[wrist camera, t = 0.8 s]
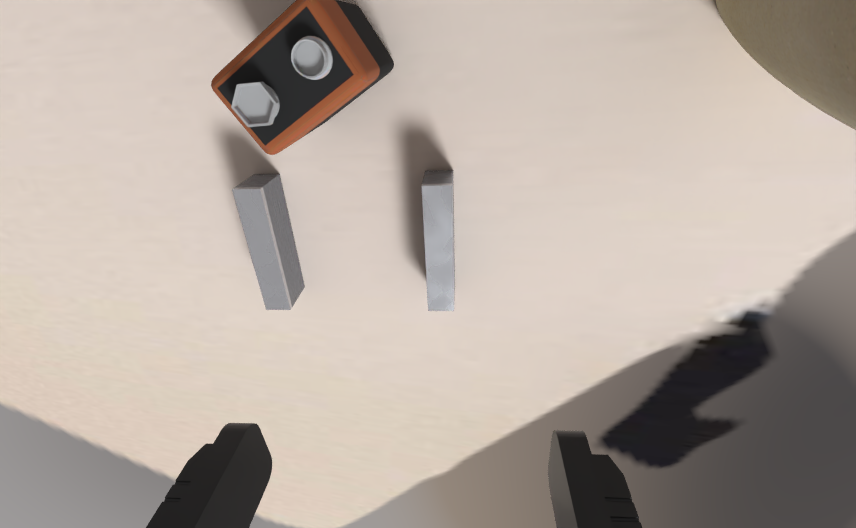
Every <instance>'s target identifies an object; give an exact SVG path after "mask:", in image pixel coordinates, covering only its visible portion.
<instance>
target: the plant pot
mask: <svg viewBox="0 0 856 528" xmlns="http://www.w3.org/2000/svg"><path fill="white" fill-rule="evenodd" d="M715 1H716V5H717V9H718V11H719V14H720V16H721V18H722V20H723V21H724V23H725V25H726V26H727V28H728V29H729V31H730V32H731V34H732V35H733V36H734V38H735V39H736V40H737V41H738V42H739V44H740V45H741V46H742V47H743V48H744V50H745V51H746V52H747V53H748V54H749V55H750V56H751V57H752V58H753V59H754V60H755V61H756V62H757V63H758V64H760V65H761V66H762V67H763V68H764V69H765V70H766V71H767V72H769V73H770V74H771V75H772V76H773V77H774V78H776V79H777V80H778V81H780V82H781V83H782V84H784V85H785V86H786V87H788V88H789V89H791V90H792V91H793V92H795V93H796V94H797V95H798V96H800V97H801V98H803V99H804V100H806V101H807V102H809V103H810V104H812V105H814V106H815V107H817V108H818V109H820V110H821V111H823V112H825V113H826V114H828V115H830V116H832V117H833V118H835V119H837V120H838V121H840V122H842V123H844V124H846V125H848V126H849V127H851V128H853V129H855V130H856V0H715Z"/></svg>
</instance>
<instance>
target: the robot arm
mask: <svg viewBox="0 0 856 528" xmlns="http://www.w3.org/2000/svg"><path fill="white" fill-rule="evenodd" d="M271 470H272V458H271V455H270V452H269V450H268V447H267V445H266V442H265V440H264V438H263V435H262V433H261V430H260V428H259V426H258V425H257V424H252V423H228V424H227V425H225V426H224V427H223V429H222V430H221V432H220V433H219V435H218V437H217V438H216V440H215V442H214V444H205V445H204V446H203V447H202V448H201V449H200V450H199V451H198V452H197V453H196V454H195V455H194V456H193V457H192V458H190V459H189V460H188V462H187V463H186V465H185V466H184V468H183V470H182V471H181V473H180V474H179V476H178V478H177V479H176V483H175V485H173V486H172V487H171V489H170V490H169V492H168V493H167V495H166V497H165V501H164V502H162V503H161V505H160V506H159V508H158V509H157V511H156V513H155V514H154V516H153V517H152V519H151V520H150V522H149V524H148V526H147V527H146V528H249V526H250V524H251V521H252V519H253V517H254V514H255V512H256V510H257V507H258V505H259V503H260V500H261V498H262V496H263V493H264V491H265V489H266V486H267V484H268V482H269V479H270V475H271ZM548 475H549V487H550V493H551V499H552V504H553V510H554V515H555V521H556V526H557V528H642V526H641V523H640V522H639V517H638V514H637V511H636V508H635V506H634V503H633V502H632V497H631V494H630V491H629V489H628V486H627V483H626V480H625V477H624V475H623V473H622V472H621V471H620V470H619V468H618V467H617V466H616V464H615V463H614V462H613V461H612V460H611V458H610V457H609V456H608V455H593V454H591V451H590V447H589V444H588V440H587V437H586V435H585V433H584V432H583V431H555V430H554V431H553V434H552V441H551V449H550V457H549V465H548Z"/></svg>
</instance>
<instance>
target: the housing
mask: <svg viewBox="0 0 856 528" xmlns="http://www.w3.org/2000/svg"><path fill="white" fill-rule="evenodd" d="M232 191H233V195H234V198H235V202H236V205H237V209H238V212H239V216H240V219H241V223H242V226H243V230H244V233H245V237H246V240H247V244H248V247H249V251H250V254H251V258H252V261H253V265H254V268H255V272H256V275H257V279H258V282H259V286H260V289H261V293H262V296H263V300H264V303H265V307H266V310H291V308H292V307H293V305H294V303H295V302H296V300H297V298H298V297H299V295H300V294H301V292H302V290H303V289H304V287H305V286H304V281H303V277H302V272H301V268H300V264H299V259H298V255H297V250H296V246H295V241H294V237H293V232H292V228H291V223H290V219H289V214H288V210H287V205H286V201H285V196H284V192H283V187H282V183H281V178H280V174H259V175H253V176H251V177H250V178H248V179H247V180H245V181H244V182H242V183H241V184H239V185H238V186H236V187H235V188H233V189H232ZM422 204H423V223H424V242H425V260H426V279H427V298H428V311H454V297H455V266H454V195H453V170H443V171H425V175H424V179H423V182H422Z"/></svg>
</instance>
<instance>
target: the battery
mask: <svg viewBox="0 0 856 528" xmlns="http://www.w3.org/2000/svg"><path fill="white" fill-rule="evenodd" d="M393 66H394V62H393V60H392V58H391V56H390V55H389V53H388V52H387V50H386V49H385V47H384V46H383V44H382V42H381V41H380V39H379V38H378V36H377V35H376V33H375V32H374V30H373V28H372V27H371V25H370V24H369V22H368V21H367V19H366V18H365V16H364V14H363V13H362V11H361V10H360V8H359V7H358V6H356V5H354V4H350V3H346V2H342V1H339V0H296V1H295V2H294V3H293V4H292V5H291V6H290V7H289V8H288V9H287V10H285V11H284V12H283V13H282V14H281V15H280V16H279V17H278V18H277V19H276V20H275V21H274V22H273V23H272V24H270V25H269V26H268V27H267V28H266V29H265V30H264V31H263V32H262V33H261V34H260V35H259V36H258V37H257V38H255V39H254V40H253V41H252V42H251V43H250V44H249V45H248V46H247V47H246V48H245V49H244V50H243V51H242V52H240V53H239V54H238V55H237V56H236V57H235V58H234V59H233V60H232V61H231V62H230V63H229V64H228V65H227V66H225V67H224V68H223V69H222V70H221V71H220V72H219V73H218V74H217V75H216V76H215V77H214V78H213V80H212V83H211V86H212V89H213V91H214V92H215V93H216V94H217V96H218V97H219V98H220V99H221V100H222V102H223V103H224V104H225V105H226V106H227V108H228V109H229V110H230V111H231V112H232V114H233V115H234V116H235V117H236V118H237V119H238V121H239V122H240V123H241V124H242V125H243V127H244V128H245V129H246V130H247V131H248V133H249V134H250V135H251V136H252V137H253V138H254V140H255V141H256V142H257V143H258V144H259V146H260V147H261V148H262V149H263V150H264V151H265V152H266V153H267V154H270V155H274V154H277V153H279V152H280V151H282V150H284V149H285V148H287V147H288V146H290V145H291V144H293V143H294V142H296V141H297V140H299V139H300V138H302V137H304V136H305V135H307V134H308V133H310V132H311V131H313V130H314V129H316V128H317V127H319V126H320V125H322V124H323V123H325V122H326V121H328V120H329V119H330V118H331V117H333V116H334V115H335V114H337V113H338V112H339V111H341V110H342V109H343V108H344V107H346V106H347V105H348V104H350V103H351V102H352V101H353V100H355V99H356V98H357V97H359V96H360V95H361V94H362V93H364V92H365V91H366V90H368V89H369V88H370V87H372V86H373V85H374V84H375V83H377V82H378V81H379V80H381V79H382V78H383V77H384V76H386V75H387V74H388V73H389V72H390V71H391V70H392V69H393Z"/></svg>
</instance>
